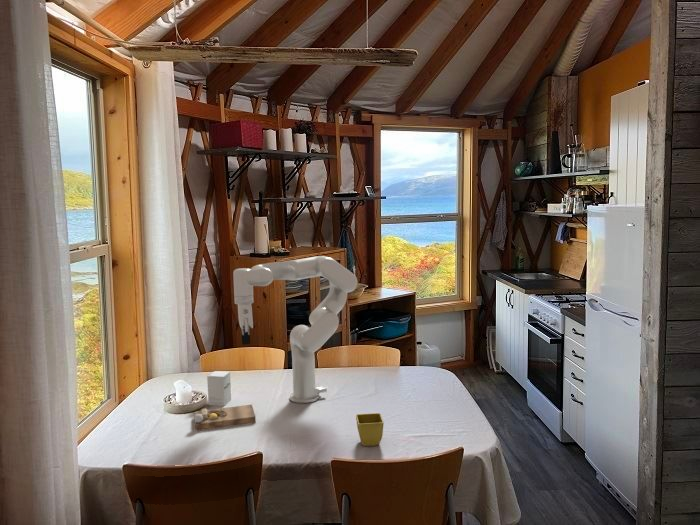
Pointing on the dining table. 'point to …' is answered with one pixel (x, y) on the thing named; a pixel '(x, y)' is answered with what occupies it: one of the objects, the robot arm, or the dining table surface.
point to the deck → (226, 417)
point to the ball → (213, 415)
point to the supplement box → (219, 388)
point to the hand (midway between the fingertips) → (246, 343)
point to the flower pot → (370, 428)
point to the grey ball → (198, 418)
